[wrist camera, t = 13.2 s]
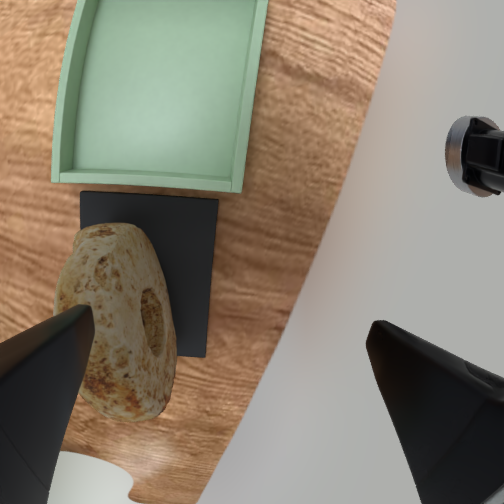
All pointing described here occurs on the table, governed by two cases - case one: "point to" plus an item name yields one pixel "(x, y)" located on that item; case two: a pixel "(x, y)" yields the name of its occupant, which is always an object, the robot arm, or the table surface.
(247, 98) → the tray
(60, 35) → the table surface
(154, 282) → the beige oval piece
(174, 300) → the mat
